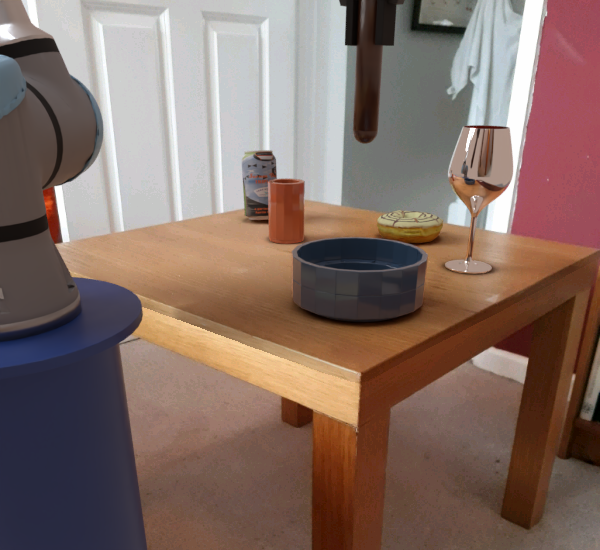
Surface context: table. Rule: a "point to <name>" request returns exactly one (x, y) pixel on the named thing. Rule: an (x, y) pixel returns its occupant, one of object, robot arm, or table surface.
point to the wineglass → (479, 179)
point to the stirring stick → (367, 74)
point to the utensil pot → (286, 210)
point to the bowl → (358, 278)
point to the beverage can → (257, 182)
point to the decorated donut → (409, 226)
